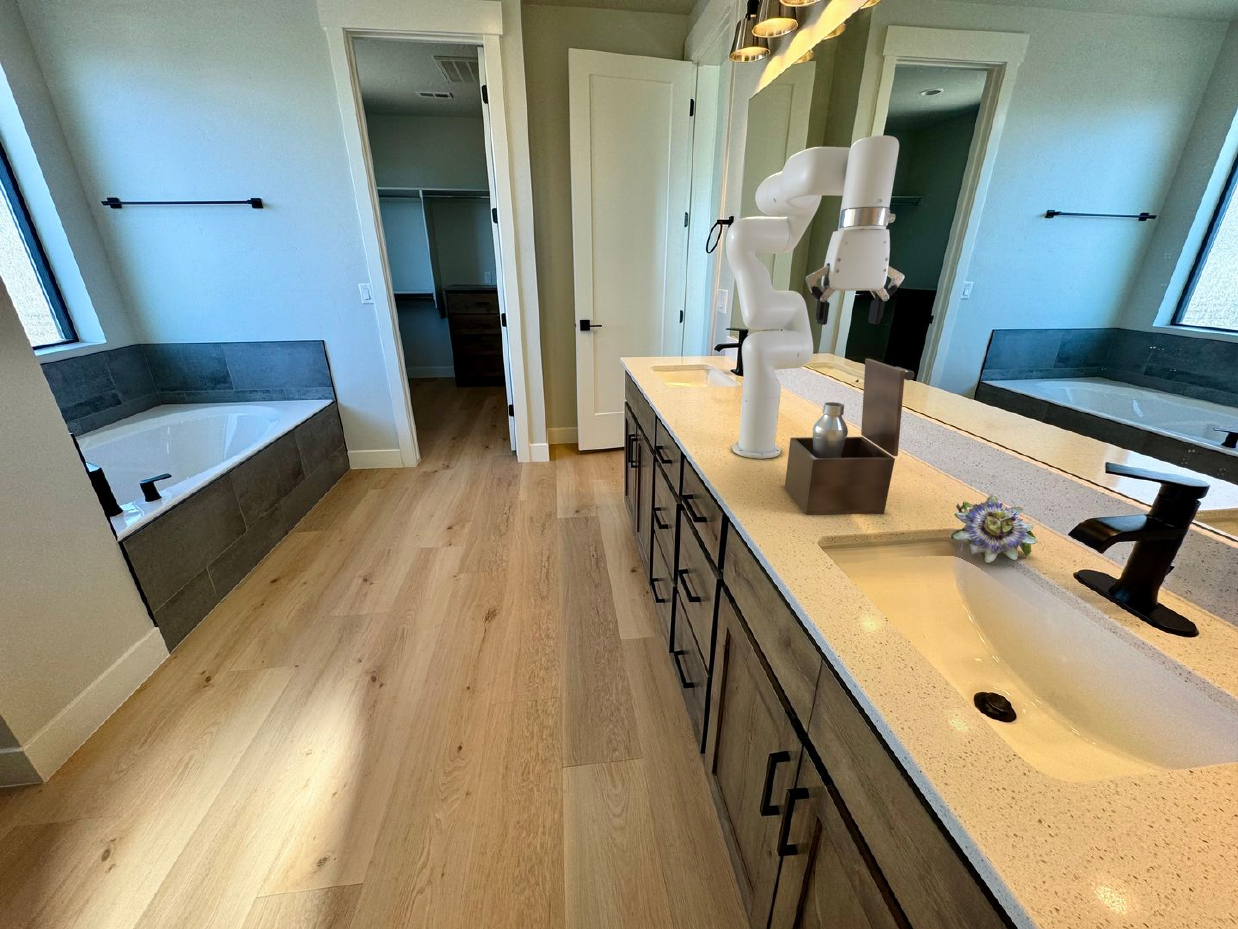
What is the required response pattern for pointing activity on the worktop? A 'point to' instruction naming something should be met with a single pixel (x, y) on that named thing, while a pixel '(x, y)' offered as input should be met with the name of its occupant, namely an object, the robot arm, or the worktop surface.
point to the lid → (883, 404)
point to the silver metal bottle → (830, 432)
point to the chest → (839, 478)
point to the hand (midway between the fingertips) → (847, 323)
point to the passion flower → (994, 529)
